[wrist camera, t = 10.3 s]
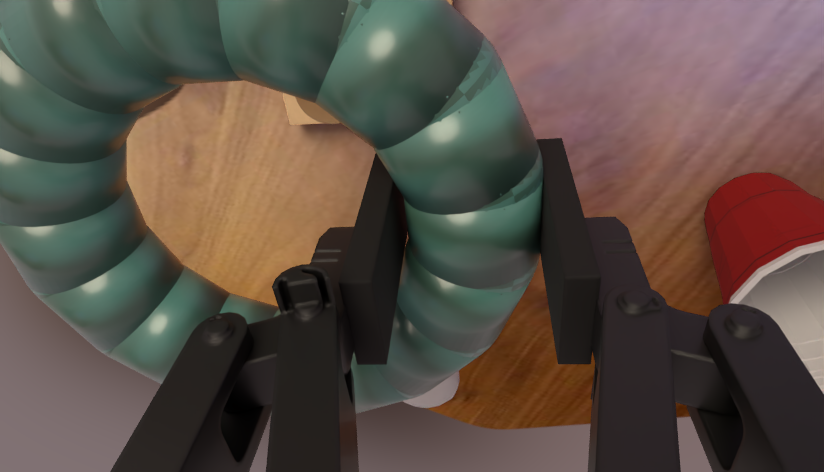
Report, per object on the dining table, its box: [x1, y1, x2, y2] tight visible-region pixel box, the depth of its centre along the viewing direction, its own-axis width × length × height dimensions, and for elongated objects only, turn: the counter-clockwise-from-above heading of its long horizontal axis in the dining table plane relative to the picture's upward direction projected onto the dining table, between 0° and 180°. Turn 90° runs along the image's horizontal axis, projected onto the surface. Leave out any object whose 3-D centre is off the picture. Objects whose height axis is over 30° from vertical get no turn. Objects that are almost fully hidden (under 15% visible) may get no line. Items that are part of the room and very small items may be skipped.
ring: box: [0, 0, 543, 416], centre depth 18 cm, size 17×17×4 cm
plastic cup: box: [704, 173, 824, 394], centre depth 34 cm, size 11×11×12 cm
